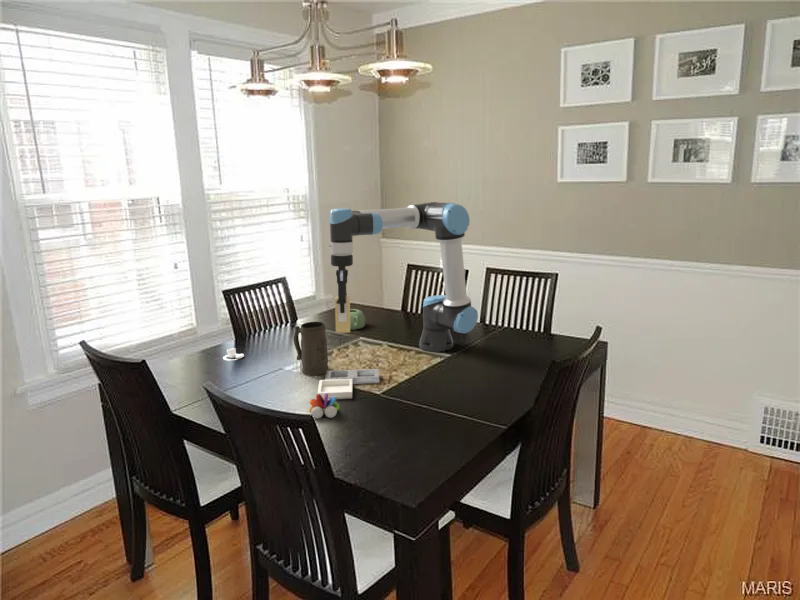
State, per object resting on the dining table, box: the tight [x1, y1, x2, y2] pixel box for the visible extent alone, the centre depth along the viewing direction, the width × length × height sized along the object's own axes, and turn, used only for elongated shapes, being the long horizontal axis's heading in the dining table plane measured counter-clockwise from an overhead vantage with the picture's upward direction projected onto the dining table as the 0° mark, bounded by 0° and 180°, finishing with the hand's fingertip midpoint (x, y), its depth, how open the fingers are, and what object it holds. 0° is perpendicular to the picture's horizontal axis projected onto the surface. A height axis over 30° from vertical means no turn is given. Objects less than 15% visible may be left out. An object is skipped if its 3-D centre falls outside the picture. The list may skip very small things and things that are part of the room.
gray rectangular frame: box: [324, 368, 380, 385], centre depth 205 cm, size 20×8×2 cm, turn 94°
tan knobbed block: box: [334, 295, 351, 334], centre depth 191 cm, size 5×5×12 cm
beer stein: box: [292, 321, 329, 376], centre depth 213 cm, size 15×10×20 cm
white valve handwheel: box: [222, 347, 245, 361], centre depth 230 cm, size 9×8×4 cm
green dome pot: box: [350, 308, 366, 331], centre depth 270 cm, size 16×13×9 cm
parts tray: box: [316, 379, 354, 400], centre depth 194 cm, size 12×12×2 cm
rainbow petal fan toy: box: [309, 393, 340, 419], centre depth 176 cm, size 8×10×7 cm
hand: (342, 319), depth 191 cm, fingers closed on tan knobbed block, 5 cm apart
